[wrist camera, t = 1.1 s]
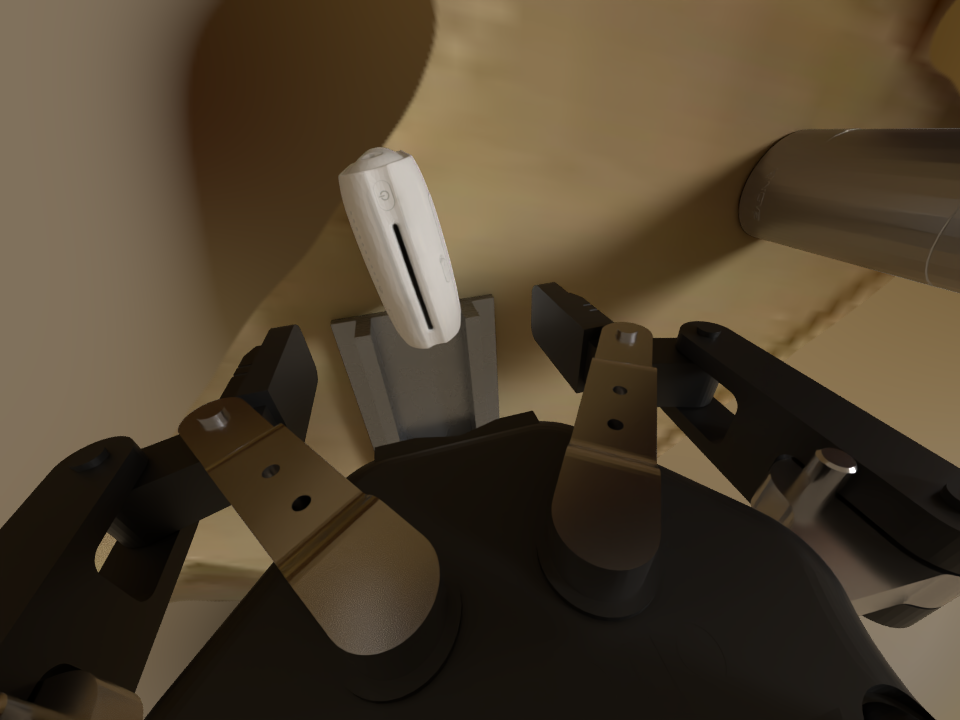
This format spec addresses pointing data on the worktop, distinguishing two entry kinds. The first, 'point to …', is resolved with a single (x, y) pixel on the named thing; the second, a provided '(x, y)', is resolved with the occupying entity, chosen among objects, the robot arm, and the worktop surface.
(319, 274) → the worktop surface
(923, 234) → the robot arm
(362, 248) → the photo printer
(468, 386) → the bracket
